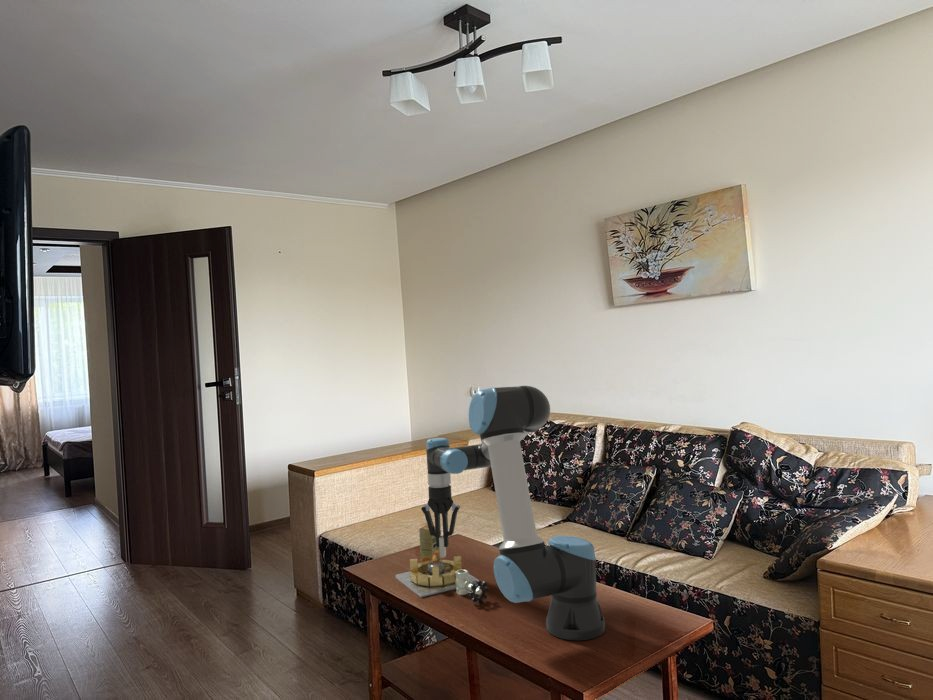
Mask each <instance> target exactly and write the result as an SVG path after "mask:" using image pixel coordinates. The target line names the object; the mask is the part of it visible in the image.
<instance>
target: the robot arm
mask: <svg viewBox="0 0 933 700" xmlns="http://www.w3.org/2000/svg"><path fill="white" fill-rule="evenodd" d="M550 414H551V405H550V401H549V399H548V396H546V394H544V393H543V391H541V389H538V388H537V387H534V386H531V385H520V386H504V387H503V386H502V387H501V386H500V387H490V388H485V389H480V390H478V391H476V392H475V393H474V394H473V395H472V397H471V401H470V403H469V407H468V424H469V427H470V429H471V431H472V433H473V434H476V435H479V438H480V442H481V443H480V444H473V445H471V444H470V445H465V446H464V445H462V446H457V447H450V443H449V439H448V438H446V437H435V438H433V437H432V438H429V439H427V441H426V444H425V445H426V447H425V448H426V450H425V452H426V466H427V485H428V487H427V491H428V501H427V504H425V505H423V506H422V507H421V508H420V509H421V511H422V513H423V515H424V516H425V521H426V525H428V528H429V532H430V535H431V536H435V537H436V546H437V547H439V548H440V559H446V558H445V557H447V548H448V547H449V537H450V536H451V537H452V535H453V534H454V533H455V532H454V531H455V527H456V526H455V525H456V522H457V516H458V512H459V510H460V509H461V506H460V505H459V504H458V505H457V504H455V503H454V500H453V498H452V497H453V496H452V486H451V484H452V480H451V477H452V476H451V475H452V474H454V475H457V474H458V475H459V474H461V473H463V472H464V471H469V470H474V469H482V468H491V473H492V479H493V484H494V490H495V495H496V496H495V498H496V503H497V508H498V514H499V520H500V521H499V522H500V525H501V527H500V528H501V531H502V537H503V541H502V543H501V544H500V545H499V547H498V549H499V555H498V556H497V557H495V558H494V562H493V574H494V575H493V576H494V578H495V581H496V584H497V587H498V589H499V590H500V592H501V593H502V594H503V597H504V598H506V599H507V600H508V601H509V602H511V603H514V604H517V603H523V602H527V603H528V602H531V601H533V600H537V599H541V598H544V597H549V596H551V599H550V603H549V606H548V612H547V614H546V618H545V626H546V627H545V628H546V631H548V632H549V634H551V635H552V636H554V637H557V638H559V639H562V640H567V641H588V640H592V639H596V638H598V637H599V636H601V635H603V634H604V632H605V631H606V622H605V621H606V620H605V617H604V614H603V611H602V609H601V606H600V604H599V601H598V595H597V593H598V592H597V573H596V572H597V569H596V560H597V558H596V553H595V546H594V545H593V543H592V542H591V541H589V540H587V539H585V538H582V537H578V536H572V535H570V536H569V535H555V536H551V537H550V538H549V539H548V540H549V541H548V546H547V545H545V540H544V539H543V538H542V537H540V536H539V535H538V534H537V528H536V521H535V518H534V516H535V515H534V511H533V505H532V501H531V496H530V495H531V494H530V491H529V490H530V489H529V484H528V479H527V474H526V467H525V463H524V457H523V452H522V446H521V441H522V440H523V439H524V438H525V437H527V435H529V434H530V433H531V434H533V433H536V432H537V431H539V430H540V429H542V427H543V426H544V425H545V424H546V423H547V421H548V420H549V419H550ZM430 509H431V511H432V513H433V514H434V516H433V517H434V521H433V518H432V514H431V511H430ZM450 510H452V513H451V517H450V523H449V519H448V518H449V517H448V515H449V511H450ZM441 518H442V528H441ZM434 526H435V528H434ZM441 529H442V530H441ZM441 532H442V533H443V534H442V533H441Z"/></svg>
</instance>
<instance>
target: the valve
mask: <svg viewBox="0 0 933 700" xmlns="http://www.w3.org/2000/svg"><path fill="white" fill-rule="evenodd" d="M468 574H469V571H468V570H467V569H463V568H462V569H461V570H457V571H456V581H455V583H456V587H457V588H456V589H455V590H456V594H457V595H459V596H464V595H469V597H473V598H471V599H470V601H471V602H473V603H475V602H477V603H478V604H482V602H483V601H482V599H484V600H487V599H488V595H487V593H488V592H489V591H490V588H489V587H487V584H488V583H487V581H485V580H483V581H481V580H480V579H478V580H477V581H476V583H477V584H473V583H472V582H471V581H470V580H469V579H468ZM481 588H482V589H483V590H482V589H481ZM482 591H483V592H482ZM479 595H480V596H479Z"/></svg>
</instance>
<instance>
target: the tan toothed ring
mask: <svg viewBox="0 0 933 700" xmlns="http://www.w3.org/2000/svg"><path fill="white" fill-rule="evenodd" d="M433 562H441V563H443V564H444V570H447V571H451V572H449V573H445V574H442V575H439V565H432V573H433V575H426V574H422V573H423V572H427V571H428V564H430V563H433ZM409 569H410V571H409V572H410V580H411V581H412V582H414V583H416V584H418V585H424V586H429V585H430V586H441V585H447V584H450V583H454V582H455V581H456V571H457V570H461V569H463V567H462V556H461V555H456V556H455V555H454V556H453V560H448V559H440V560H439V550H435V551H433V560H430V561H425V562H421V561H420V562H419V561H418V558H410V559H409Z"/></svg>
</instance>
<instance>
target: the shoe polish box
mask: <svg viewBox="0 0 933 700" xmlns="http://www.w3.org/2000/svg"><path fill="white" fill-rule="evenodd" d="M434 528H435V525H434ZM418 532H419V548H420V549H419V550H420V551H419V552H420V563H421V562H425V561H430V560H433V551H435V550H439V560H441V558H440V548H439V547H437V546H436V537H435V536H431V535H430V532H429V528H428V524H426V525H424V526H422V527H420V528H419V531H418Z"/></svg>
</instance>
